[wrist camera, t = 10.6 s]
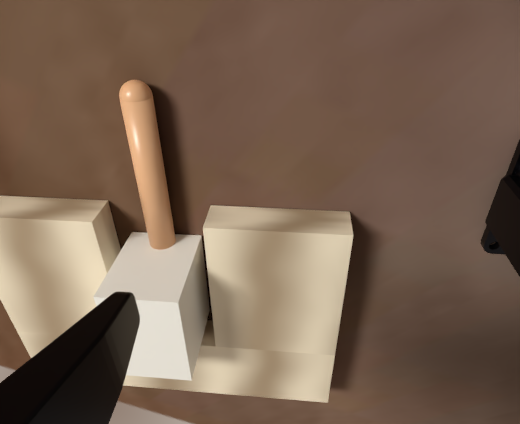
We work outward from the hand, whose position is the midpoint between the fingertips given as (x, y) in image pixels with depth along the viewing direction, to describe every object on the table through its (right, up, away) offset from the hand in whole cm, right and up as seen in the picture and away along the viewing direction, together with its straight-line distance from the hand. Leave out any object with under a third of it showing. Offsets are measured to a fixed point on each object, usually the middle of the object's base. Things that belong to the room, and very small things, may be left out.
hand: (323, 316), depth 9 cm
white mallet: (-7, +2, +13) cm, 14 cm away
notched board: (-7, -3, +16) cm, 18 cm away
